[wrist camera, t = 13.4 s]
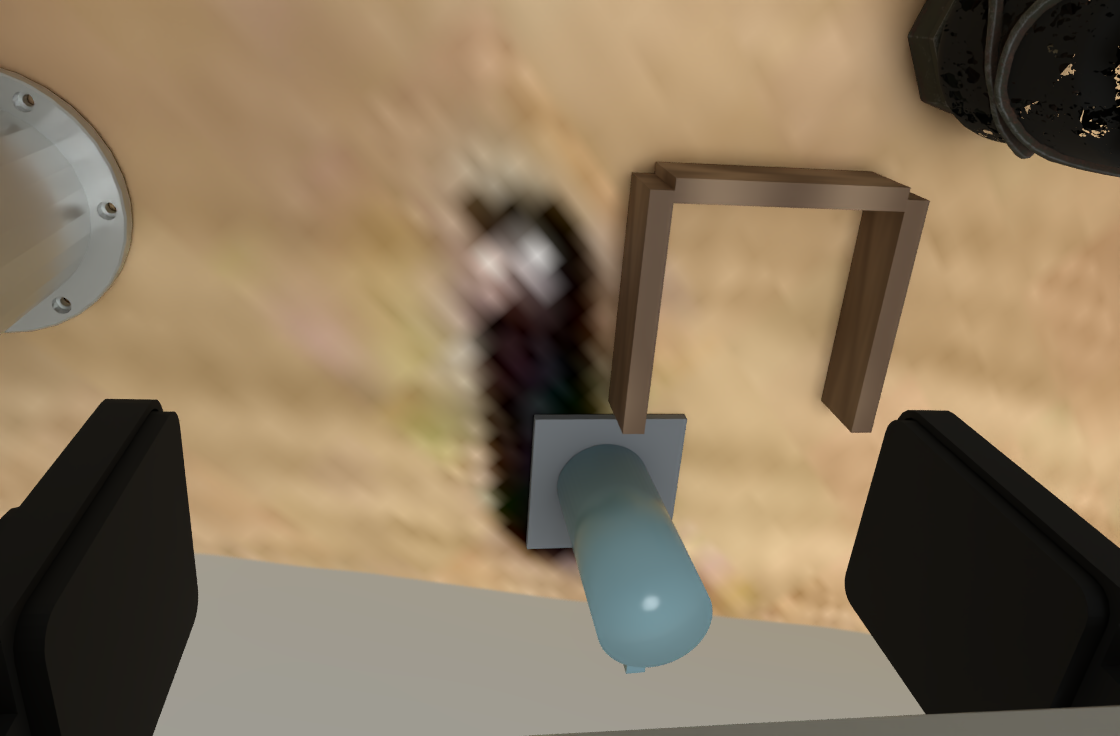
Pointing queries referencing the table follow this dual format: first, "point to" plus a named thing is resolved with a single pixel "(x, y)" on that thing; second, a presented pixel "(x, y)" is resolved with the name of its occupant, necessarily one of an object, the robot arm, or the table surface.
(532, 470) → the coaster
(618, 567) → the jug
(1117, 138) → the lantern
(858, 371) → the brown u-shaped frame
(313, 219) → the table surface
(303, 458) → the table surface
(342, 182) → the table surface
